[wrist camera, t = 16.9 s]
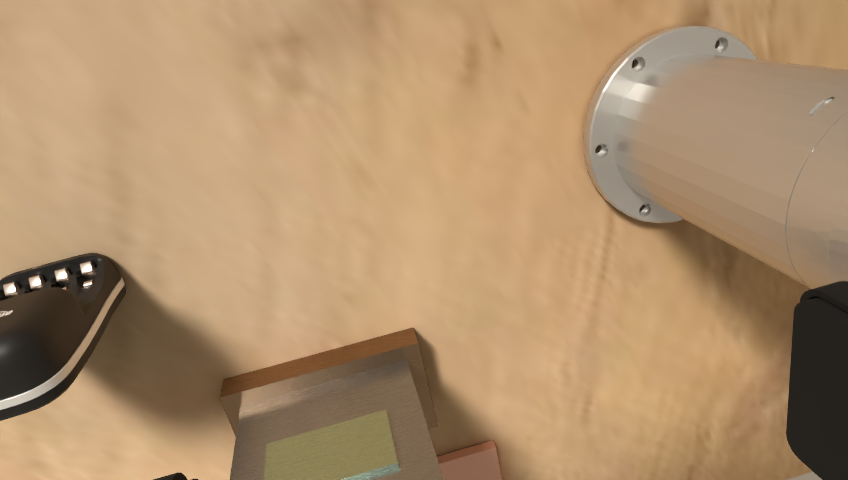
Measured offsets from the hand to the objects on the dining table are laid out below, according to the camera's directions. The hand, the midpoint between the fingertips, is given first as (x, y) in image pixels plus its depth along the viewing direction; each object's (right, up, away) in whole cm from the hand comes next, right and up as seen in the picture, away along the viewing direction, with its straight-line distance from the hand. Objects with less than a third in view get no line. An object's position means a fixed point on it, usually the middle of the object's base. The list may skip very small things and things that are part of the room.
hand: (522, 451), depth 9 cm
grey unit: (-8, -8, +32) cm, 34 cm away
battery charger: (-23, +1, +26) cm, 35 cm away
